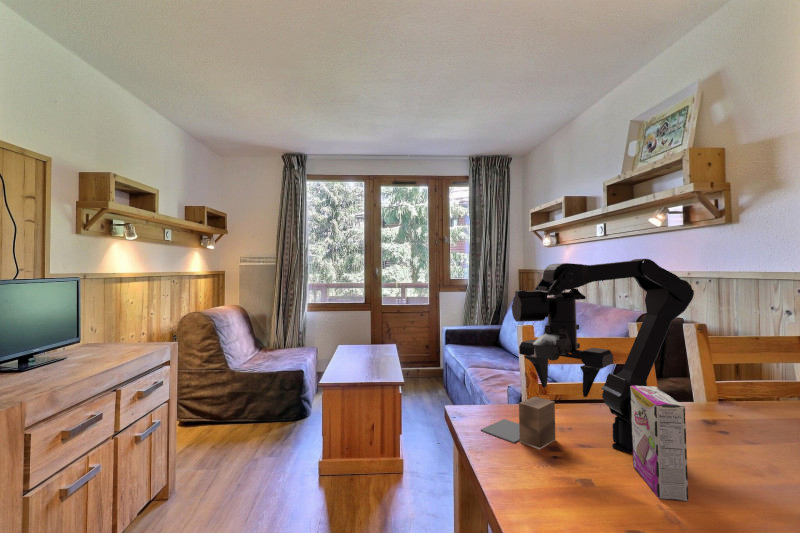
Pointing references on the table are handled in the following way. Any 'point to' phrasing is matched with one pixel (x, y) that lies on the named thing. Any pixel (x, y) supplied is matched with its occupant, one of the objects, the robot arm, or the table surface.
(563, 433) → the table surface
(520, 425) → the walnut block
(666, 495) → the candy bar box
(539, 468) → the table surface
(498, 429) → the mat
